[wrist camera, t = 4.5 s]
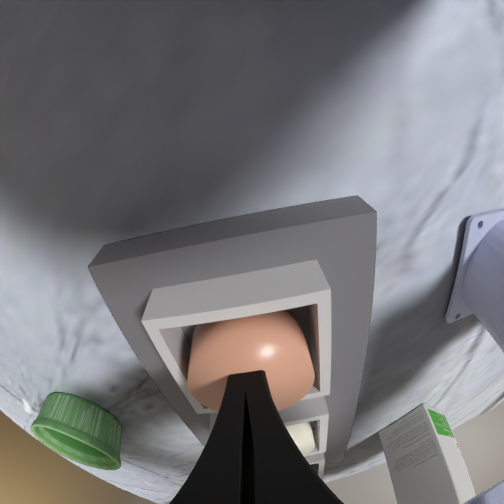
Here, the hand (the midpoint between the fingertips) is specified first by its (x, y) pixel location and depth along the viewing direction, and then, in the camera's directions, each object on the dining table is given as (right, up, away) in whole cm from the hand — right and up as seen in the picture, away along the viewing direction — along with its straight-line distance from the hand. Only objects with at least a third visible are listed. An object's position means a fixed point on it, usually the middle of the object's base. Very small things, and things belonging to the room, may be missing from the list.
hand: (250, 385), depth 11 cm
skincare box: (+19, -14, +15) cm, 28 cm away
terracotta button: (0, +1, +2) cm, 2 cm away
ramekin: (-16, -10, +11) cm, 22 cm away
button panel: (+1, -5, +9) cm, 10 cm away
